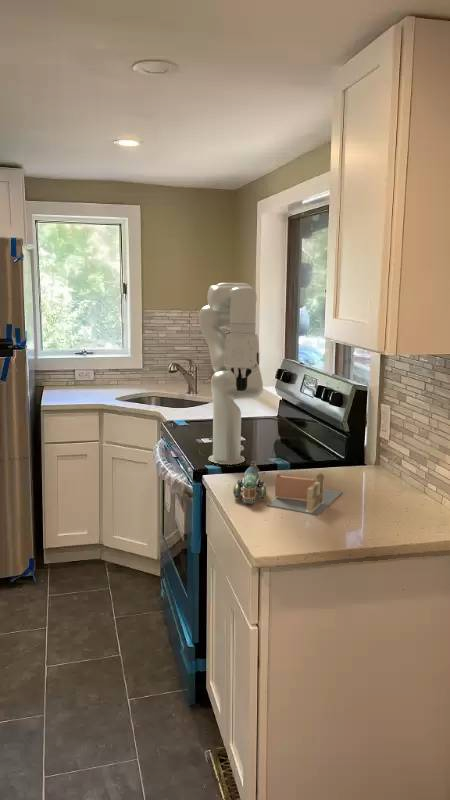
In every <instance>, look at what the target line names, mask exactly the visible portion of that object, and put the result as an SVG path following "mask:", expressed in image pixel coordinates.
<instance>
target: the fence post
mask: <svg viewBox="0 0 450 800" xmlns="http://www.w3.org/2000/svg"><path fill="white" fill-rule="evenodd" d="M315 477H316V481H315V483H314V484H313V485H311V486H310V487H309V488H308V489H307V510H310V511H311V510H312V509H313V508H314V507H315V506H316V505H318V504H319V503H322V499H323V489H324V479H325V475H324V474H323V473H321V472H320V473H317V474H316V475H315Z"/></svg>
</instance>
